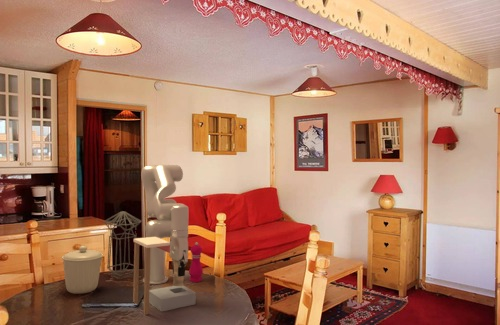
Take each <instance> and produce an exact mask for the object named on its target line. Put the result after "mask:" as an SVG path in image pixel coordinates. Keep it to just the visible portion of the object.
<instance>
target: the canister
mask: <svg viewBox="0 0 500 325" xmlns="http://www.w3.org/2000/svg"><path fill="white" fill-rule="evenodd" d="M103 257H104V254H103V253H102V252H100V251H98V250H93V249H88V246H86V245H80V246H79V247H78V250H73V251H69V252H67V253H65V254H64V255H62V256H61V260H62V261H63V272H64V281H65V288H66V290H67V292H68V293H70V294H73V295H74V294H75V295H76V294H77V295H81V294H82V295H83V294H87V293H88V294H89V293H91V292H93V291H95V290H96V289H97V287H98V284H99V280H100V279H99V278H100V274H101V273H100V272H101V267H102V265H101V264H102V258H103Z"/></svg>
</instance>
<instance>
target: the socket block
mask: <svg viewBox="0 0 500 325" xmlns="http://www.w3.org/2000/svg"><path fill="white" fill-rule="evenodd" d="M196 296H197V292H195V291H194V290H192V289H190V288H189V287H187V286H185V285H182V286H174V285H172V286H171V285H169V286H165V287H160V288H159V287H158V288H154V289H149V305H152V306H153V307H154V308H155V309H157V310H158V311H159V312H161V313H162V312H167V311H170V310H175V309H180V308H185V307H188V306H193V305H196V300H197V297H196Z"/></svg>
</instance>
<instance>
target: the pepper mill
mask: <svg viewBox="0 0 500 325" xmlns="http://www.w3.org/2000/svg"><path fill="white" fill-rule="evenodd" d="M190 253H191V259H192V261H191V264H190V267H189V270H188V274H189V281H190V282H191V283H200V282H202V280H203V278H202V276H203V273H204V272H203V271H204V270H203V267H202V264H201V258H202V253H203V248H202V246H201V245H199V242H197V241H196V242H195V243H194V245H192V246H191V248H190Z"/></svg>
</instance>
